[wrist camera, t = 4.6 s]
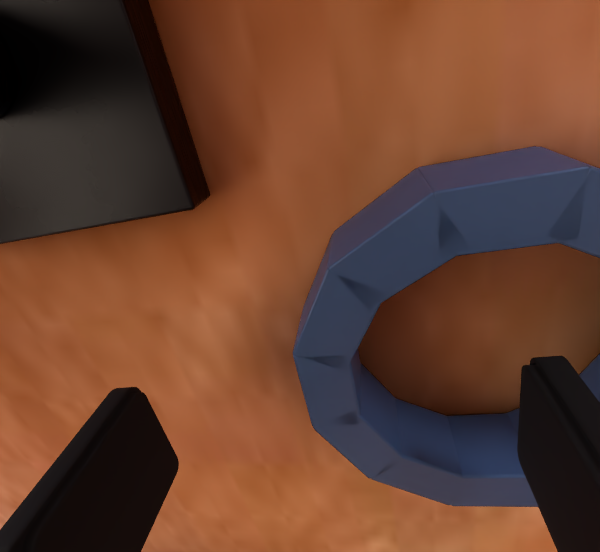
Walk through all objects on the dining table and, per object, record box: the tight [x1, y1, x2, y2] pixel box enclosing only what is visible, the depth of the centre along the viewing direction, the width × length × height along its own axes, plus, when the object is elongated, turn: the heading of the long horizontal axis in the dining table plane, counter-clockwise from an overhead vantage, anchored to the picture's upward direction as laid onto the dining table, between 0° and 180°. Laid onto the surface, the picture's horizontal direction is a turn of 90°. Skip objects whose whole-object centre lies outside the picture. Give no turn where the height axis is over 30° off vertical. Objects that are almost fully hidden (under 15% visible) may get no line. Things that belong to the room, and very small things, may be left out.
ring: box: [293, 146, 600, 507], centre depth 10 cm, size 10×10×2 cm
